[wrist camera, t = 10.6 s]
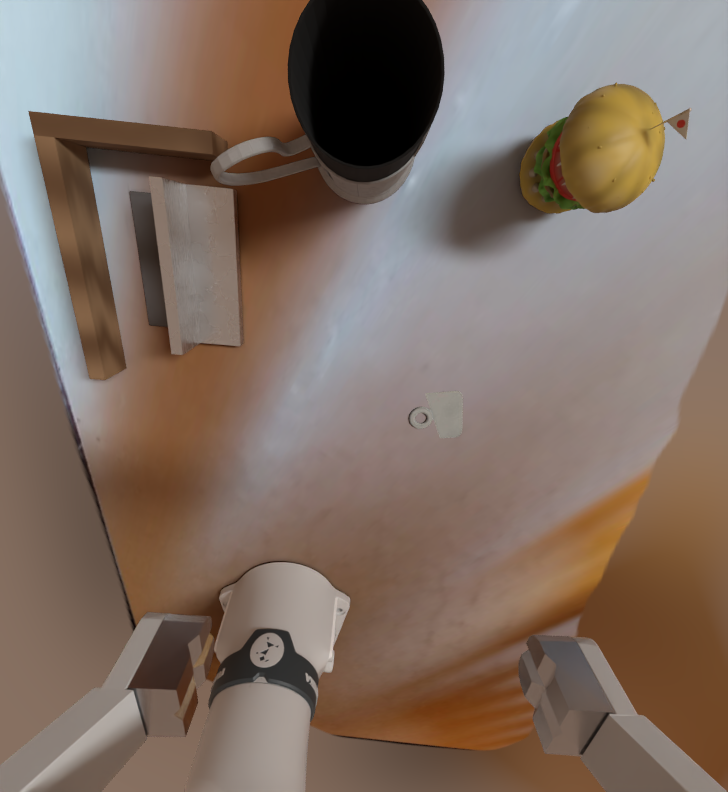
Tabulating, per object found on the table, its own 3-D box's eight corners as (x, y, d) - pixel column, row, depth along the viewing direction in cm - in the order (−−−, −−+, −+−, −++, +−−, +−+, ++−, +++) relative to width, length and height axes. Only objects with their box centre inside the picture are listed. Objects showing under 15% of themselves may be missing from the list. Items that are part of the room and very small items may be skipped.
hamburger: (495, 158, 32) (566, 119, 21) (573, 95, 30) (696, 14, 19) (536, 236, 34) (619, 237, 23) (610, 181, 32) (738, 154, 21)
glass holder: (429, 179, 32) (478, 139, 18) (285, 244, 34) (233, 251, 21) (395, 60, 29) (425, -97, 15) (238, 140, 31) (139, 67, 17)
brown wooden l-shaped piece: (239, 377, 40) (228, 390, 36) (112, 366, 39) (89, 378, 36) (227, 141, 31) (211, 131, 28) (63, 124, 30) (28, 111, 27)
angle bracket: (179, 184, 32) (148, 176, 28) (236, 190, 32) (215, 183, 28) (194, 339, 38) (171, 354, 33) (243, 343, 38) (227, 358, 33)
